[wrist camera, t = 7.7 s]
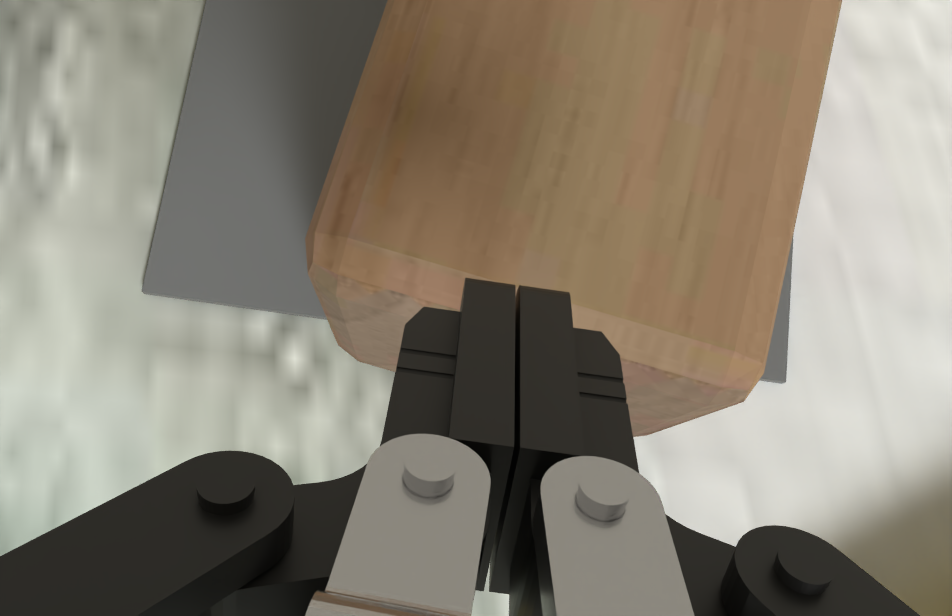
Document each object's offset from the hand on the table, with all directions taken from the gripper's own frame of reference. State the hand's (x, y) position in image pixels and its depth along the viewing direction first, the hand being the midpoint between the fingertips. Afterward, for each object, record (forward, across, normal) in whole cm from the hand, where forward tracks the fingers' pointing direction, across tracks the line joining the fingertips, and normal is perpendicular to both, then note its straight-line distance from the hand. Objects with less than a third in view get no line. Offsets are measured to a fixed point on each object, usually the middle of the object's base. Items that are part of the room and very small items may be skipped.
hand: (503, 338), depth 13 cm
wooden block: (+7, -1, +6) cm, 10 cm away
